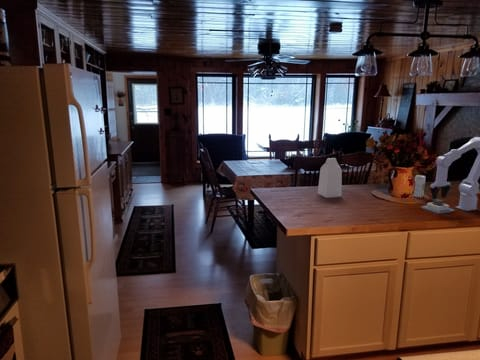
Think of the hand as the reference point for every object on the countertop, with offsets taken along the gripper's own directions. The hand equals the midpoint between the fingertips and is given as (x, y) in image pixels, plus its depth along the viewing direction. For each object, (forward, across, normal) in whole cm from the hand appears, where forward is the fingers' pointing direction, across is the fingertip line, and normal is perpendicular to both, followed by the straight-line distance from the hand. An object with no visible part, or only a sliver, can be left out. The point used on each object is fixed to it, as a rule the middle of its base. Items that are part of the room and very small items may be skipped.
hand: (438, 198), depth 222 cm
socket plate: (+7, 0, 0) cm, 7 cm away
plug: (+6, 0, 0) cm, 6 cm away
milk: (+8, +40, -54) cm, 68 cm away
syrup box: (+8, -14, -27) cm, 31 cm away
